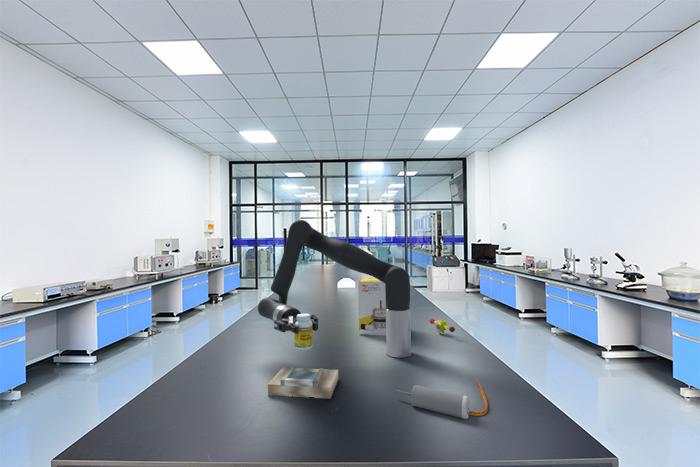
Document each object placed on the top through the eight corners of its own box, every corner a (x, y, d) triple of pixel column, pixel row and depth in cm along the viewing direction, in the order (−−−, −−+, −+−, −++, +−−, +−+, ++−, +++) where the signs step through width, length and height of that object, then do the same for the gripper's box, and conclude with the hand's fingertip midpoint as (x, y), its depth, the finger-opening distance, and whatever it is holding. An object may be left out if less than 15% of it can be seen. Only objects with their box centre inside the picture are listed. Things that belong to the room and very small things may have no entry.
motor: (483, 427, 70) (483, 403, 70) (392, 403, 81) (393, 383, 82) (493, 400, 89) (493, 381, 90) (419, 383, 100) (419, 367, 101)
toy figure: (425, 329, 150) (425, 316, 151) (435, 328, 152) (435, 315, 152) (448, 340, 133) (447, 324, 133) (458, 339, 135) (458, 323, 135)
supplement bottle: (308, 343, 95) (308, 312, 95) (315, 348, 90) (315, 315, 91) (291, 346, 92) (291, 314, 92) (298, 351, 87) (298, 317, 88)
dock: (338, 379, 95) (338, 365, 96) (330, 399, 83) (330, 382, 84) (283, 377, 98) (282, 362, 98) (267, 395, 86) (267, 379, 86)
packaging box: (392, 326, 158) (391, 277, 159) (394, 335, 142) (393, 281, 143) (361, 326, 159) (360, 277, 161) (359, 335, 143) (358, 281, 144)
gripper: (265, 308, 100) (283, 319, 85) (306, 303, 107) (329, 312, 93) (265, 331, 100) (283, 346, 85) (306, 325, 107) (329, 337, 93)
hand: (307, 328), depth 89 cm, fingers closed on supplement bottle, 5 cm apart
